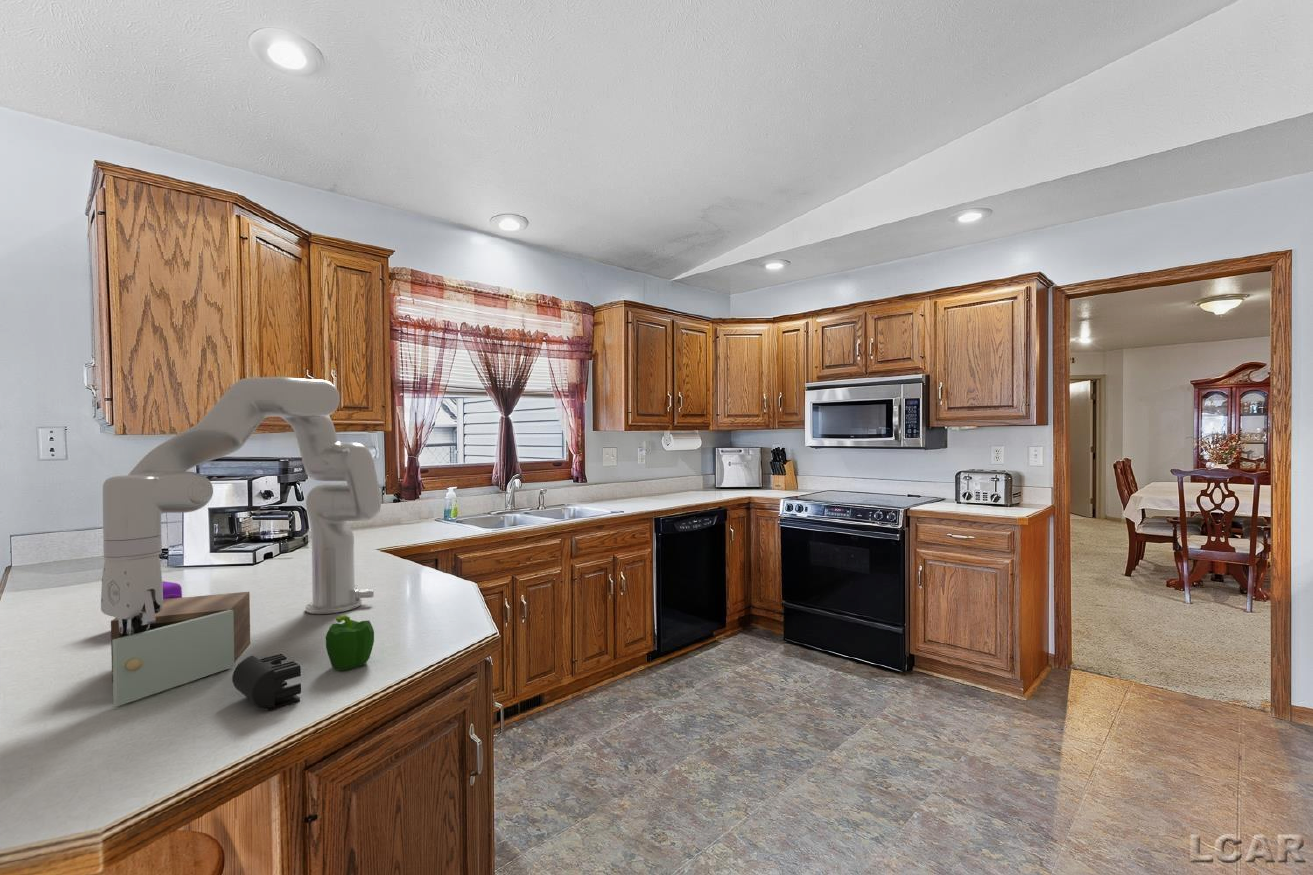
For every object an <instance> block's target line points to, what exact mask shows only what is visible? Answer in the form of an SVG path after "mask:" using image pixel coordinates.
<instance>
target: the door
mask: <svg viewBox="0 0 1313 875" xmlns="http://www.w3.org/2000/svg"><path fill="white" fill-rule="evenodd" d="M112 647H113V682H112V683H113V684H112V687H113V688H112V689H113V694H112V696H113V705H114V706H117V707H119V706H122V705H124V704H128V703H131V702H134V701H137V700H139V699H142V698H145V697H148V696H152V695H155V694H158V693H160V692H163V691H166V690H170V689H172V688H175V687H178V686H181V685H184V684H188V683H190V682H192V681H196V680H198V679H201V678H204V677H207V676H210V675H213V674H216V673H219V672H223V671H225V670H228V669H231V668H234V667H235V663H234V619H233V610H227V611H223V612H219V613H215V614H211V615H207V616H203V617H199V618H195V619H192V620H188V621H184V622H180V623H176V624H172V625H168V626H164V627H160V628H156V629H153V630H149V631H145V632H141V633H137V634H133V635H129V636H125V637H121V638H117V639H113V640H112Z"/></svg>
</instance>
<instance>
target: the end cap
mask: <svg viewBox="0 0 1313 875" xmlns="http://www.w3.org/2000/svg"><path fill="white" fill-rule="evenodd" d="M286 660H288V656H286V655H285V654H283V653H278V654H274V655H270V656H267V657H266V656H265V657H261V658H260V659H259V658H258V657H257V656H255V655H251V656H248V657H246V658H244V659H242V661H241V662H240V663H238V664H237V666H236V667H235V669H234V670H233V672H232V678H231V679H232V684H233V687H234V688H235V689H236V690H237V691H238V692H240V693H241V694H242V695H244V697H246V698H247V699H248V700H250V701H251V702H252V703H253V704H255V705H256V706H257V707H260V708H262V709H263V710H266V711H270V712H272V711H276V710H279V709H282V708H285V707H290V706H291V705H295V704H298V703H300V702H301V697H300V695H299V694H301V693H302V683H301V682H299V683H296V684H293V685H288V682H287V681H288V680H292V679H294V678H295V679H296V678H298V677H301V676H302V669H301V668H302V667H301V664H299V663H298V662H296V661H295V660H292V661H288V662H284V663H282V661H286ZM298 695H299V696H298Z"/></svg>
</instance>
